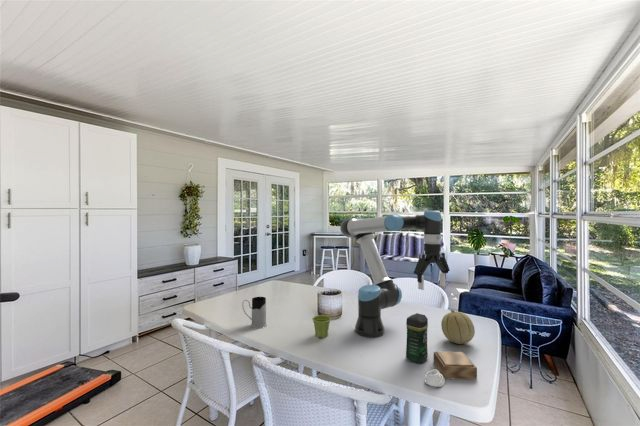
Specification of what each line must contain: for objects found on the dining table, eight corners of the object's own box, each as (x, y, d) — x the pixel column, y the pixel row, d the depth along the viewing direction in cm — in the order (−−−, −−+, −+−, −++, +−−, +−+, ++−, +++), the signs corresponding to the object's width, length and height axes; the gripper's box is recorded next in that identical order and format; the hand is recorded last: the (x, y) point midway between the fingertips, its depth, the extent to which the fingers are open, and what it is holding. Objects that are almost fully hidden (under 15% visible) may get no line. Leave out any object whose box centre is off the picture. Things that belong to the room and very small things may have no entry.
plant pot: (317, 340, 145) (317, 323, 145) (309, 333, 153) (309, 317, 153) (334, 337, 149) (334, 319, 149) (325, 330, 157) (325, 314, 157)
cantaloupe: (473, 352, 132) (473, 318, 132) (438, 344, 140) (438, 313, 140) (476, 340, 145) (476, 309, 145) (444, 333, 153) (444, 304, 153)
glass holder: (263, 329, 159) (263, 301, 159) (238, 327, 162) (238, 299, 162) (269, 323, 168) (269, 296, 168) (246, 321, 170) (246, 295, 170)
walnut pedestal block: (444, 378, 112) (444, 365, 112) (433, 362, 124) (433, 350, 124) (476, 379, 111) (476, 366, 111) (463, 363, 123) (463, 351, 123)
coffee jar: (421, 366, 121) (421, 320, 121) (403, 359, 126) (403, 316, 126) (430, 357, 128) (430, 314, 128) (412, 351, 133) (412, 310, 133)
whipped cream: (438, 393, 104) (439, 381, 103) (420, 384, 108) (421, 372, 108) (446, 382, 110) (447, 370, 109) (428, 374, 114) (429, 362, 114)
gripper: (417, 245, 132) (417, 292, 132) (457, 242, 142) (457, 286, 142) (406, 243, 138) (405, 288, 139) (445, 241, 149) (444, 283, 149)
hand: (431, 287), depth 140 cm, fingers open, 13 cm apart
